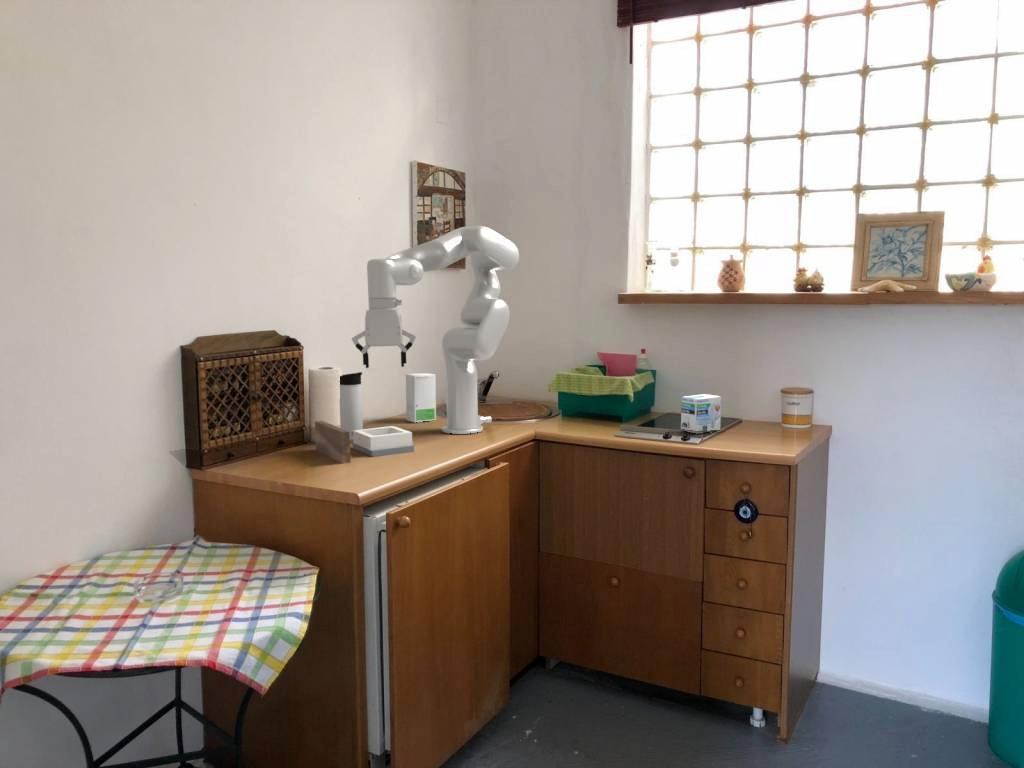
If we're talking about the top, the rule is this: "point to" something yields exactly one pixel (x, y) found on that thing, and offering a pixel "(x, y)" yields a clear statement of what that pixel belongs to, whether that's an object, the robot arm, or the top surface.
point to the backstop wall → (332, 441)
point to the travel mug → (351, 403)
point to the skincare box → (420, 397)
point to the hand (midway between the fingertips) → (385, 366)
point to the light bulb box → (701, 412)
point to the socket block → (382, 441)
